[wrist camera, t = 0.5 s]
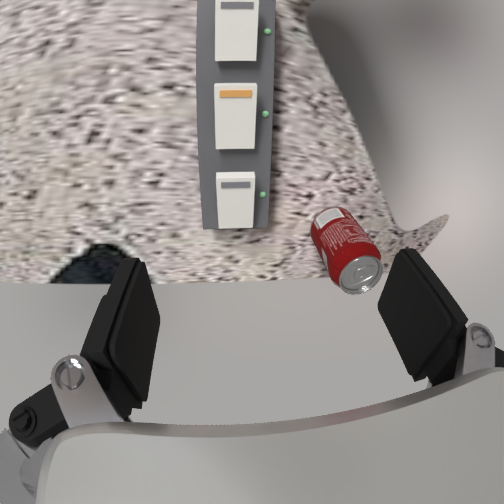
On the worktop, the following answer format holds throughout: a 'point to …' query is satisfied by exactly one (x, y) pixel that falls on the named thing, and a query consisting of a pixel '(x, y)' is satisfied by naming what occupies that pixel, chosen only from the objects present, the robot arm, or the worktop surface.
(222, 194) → the rocker
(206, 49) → the power strip
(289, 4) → the worktop surface
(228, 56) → the rocker
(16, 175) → the worktop surface
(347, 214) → the soda can
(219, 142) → the block
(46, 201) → the worktop surface
